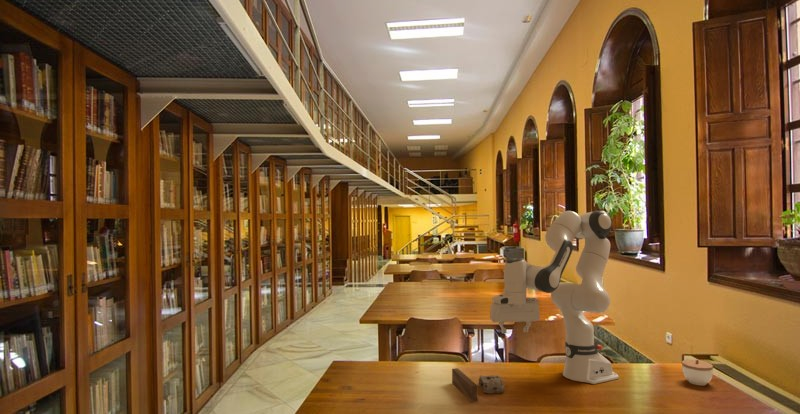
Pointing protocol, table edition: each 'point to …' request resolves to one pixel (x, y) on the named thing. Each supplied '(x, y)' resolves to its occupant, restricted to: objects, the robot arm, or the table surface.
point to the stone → (491, 384)
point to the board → (464, 385)
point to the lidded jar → (697, 371)
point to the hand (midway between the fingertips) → (514, 332)
